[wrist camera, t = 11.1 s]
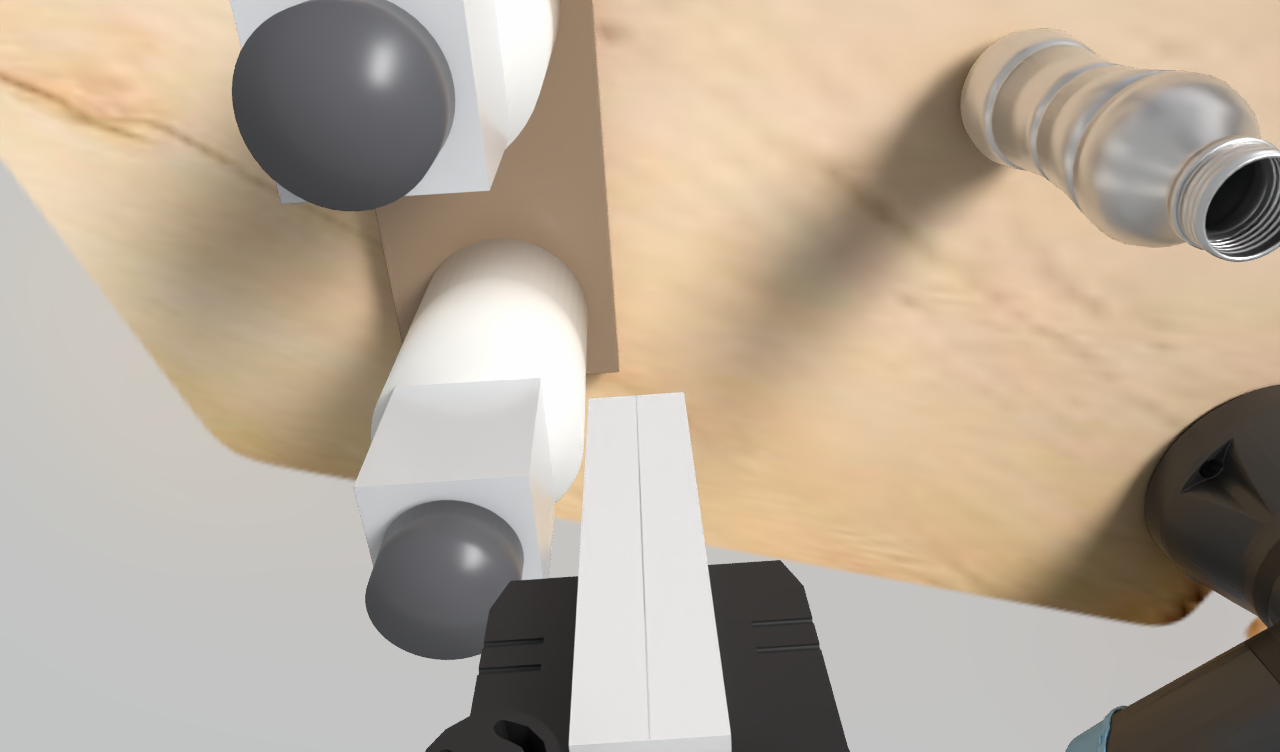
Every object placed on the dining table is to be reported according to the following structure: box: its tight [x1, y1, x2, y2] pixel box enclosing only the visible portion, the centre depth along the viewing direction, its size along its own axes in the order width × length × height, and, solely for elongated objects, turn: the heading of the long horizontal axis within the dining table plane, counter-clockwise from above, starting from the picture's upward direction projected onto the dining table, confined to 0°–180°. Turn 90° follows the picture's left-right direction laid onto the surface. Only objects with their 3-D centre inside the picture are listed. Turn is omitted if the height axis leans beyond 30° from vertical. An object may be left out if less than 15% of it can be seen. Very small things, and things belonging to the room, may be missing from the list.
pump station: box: [230, 0, 619, 580], centre depth 38 cm, size 25×12×22 cm, turn 3°
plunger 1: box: [232, 0, 455, 211], centre depth 26 cm, size 5×5×9 cm
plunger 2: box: [365, 500, 524, 660], centre depth 34 cm, size 5×5×9 cm
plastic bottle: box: [960, 28, 1280, 262], centre depth 38 cm, size 6×7×20 cm
